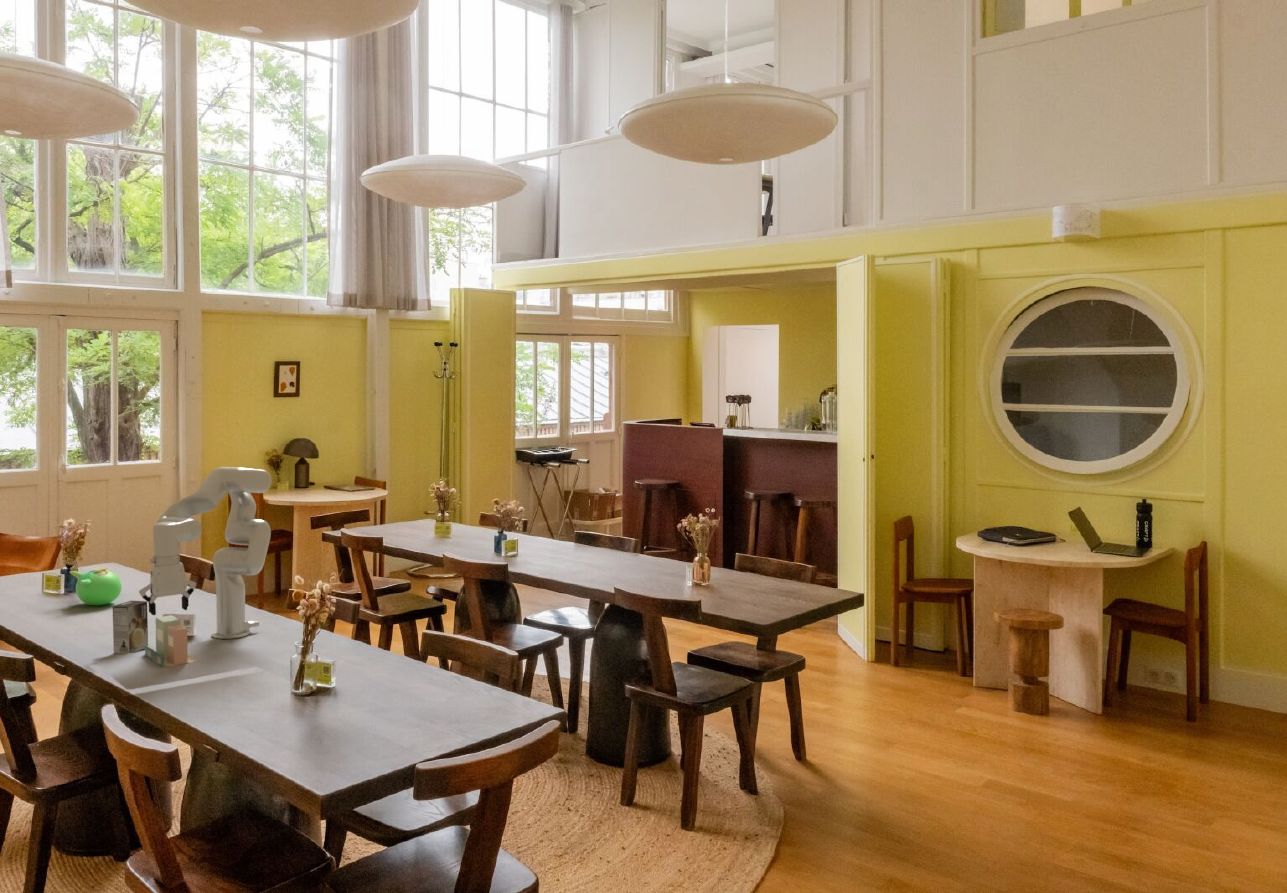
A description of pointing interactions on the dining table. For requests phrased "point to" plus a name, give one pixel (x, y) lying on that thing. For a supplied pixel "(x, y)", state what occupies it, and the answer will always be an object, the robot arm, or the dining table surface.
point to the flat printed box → (160, 659)
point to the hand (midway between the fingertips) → (169, 611)
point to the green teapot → (97, 586)
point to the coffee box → (130, 627)
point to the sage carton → (164, 633)
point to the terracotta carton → (177, 645)
